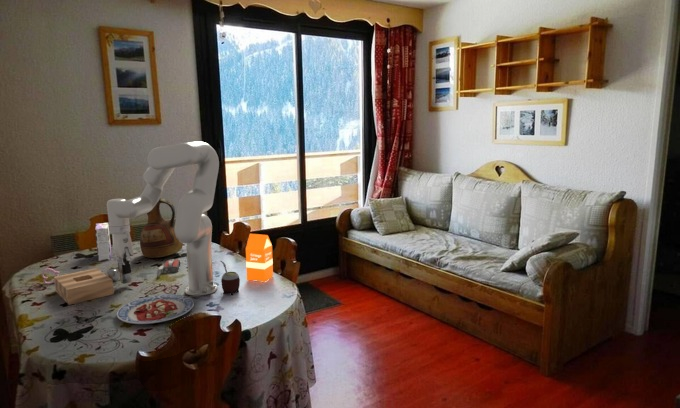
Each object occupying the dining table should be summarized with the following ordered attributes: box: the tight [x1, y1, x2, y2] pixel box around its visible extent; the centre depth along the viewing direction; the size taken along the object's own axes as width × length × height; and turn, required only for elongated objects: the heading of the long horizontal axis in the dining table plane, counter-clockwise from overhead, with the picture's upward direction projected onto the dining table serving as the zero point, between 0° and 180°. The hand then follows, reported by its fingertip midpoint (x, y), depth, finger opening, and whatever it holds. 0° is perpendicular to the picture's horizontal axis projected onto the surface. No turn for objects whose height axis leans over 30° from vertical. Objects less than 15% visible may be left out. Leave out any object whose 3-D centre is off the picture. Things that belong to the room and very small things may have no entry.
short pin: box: [107, 268, 120, 284], centre depth 198 cm, size 4×4×5 cm
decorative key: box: [41, 267, 81, 285], centre depth 199 cm, size 7×1×20 cm
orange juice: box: [245, 233, 274, 282], centre depth 199 cm, size 8×9×20 cm
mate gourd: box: [220, 260, 241, 296], centre depth 183 cm, size 8×8×15 cm
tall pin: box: [117, 255, 132, 284], centre depth 190 cm, size 4×4×12 cm
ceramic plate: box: [116, 293, 195, 325], centre depth 166 cm, size 26×26×3 cm
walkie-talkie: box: [156, 258, 181, 278], centre depth 211 cm, size 9×4×20 cm
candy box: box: [95, 222, 112, 262], centre depth 233 cm, size 14×6×16 cm, turn 25°
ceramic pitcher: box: [139, 197, 183, 259], centre depth 233 cm, size 20×20×30 cm
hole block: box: [53, 267, 115, 306], centre depth 185 cm, size 20×16×6 cm
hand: (124, 271), depth 190 cm, fingers closed on tall pin, 4 cm apart
